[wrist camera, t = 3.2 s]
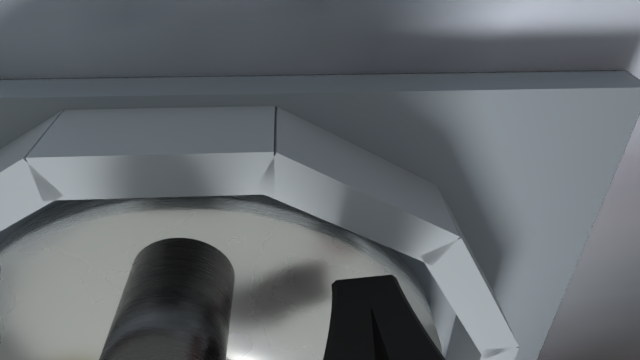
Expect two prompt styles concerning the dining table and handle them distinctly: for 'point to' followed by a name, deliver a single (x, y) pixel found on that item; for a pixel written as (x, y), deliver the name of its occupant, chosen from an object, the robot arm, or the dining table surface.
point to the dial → (182, 280)
